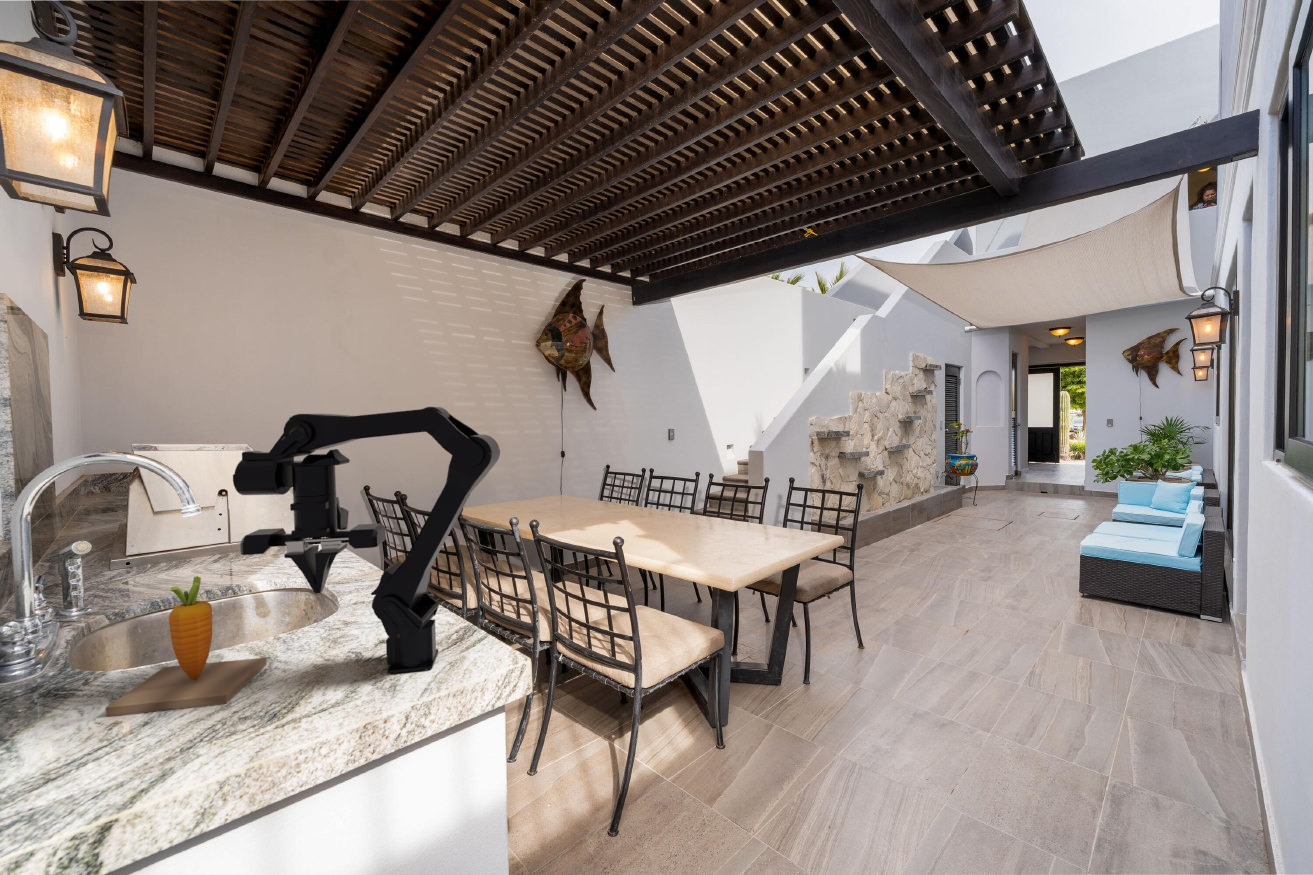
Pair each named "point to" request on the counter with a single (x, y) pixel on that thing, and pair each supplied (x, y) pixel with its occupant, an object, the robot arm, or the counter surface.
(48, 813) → the counter surface
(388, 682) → the counter surface
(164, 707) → the walnut board
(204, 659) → the carrot
